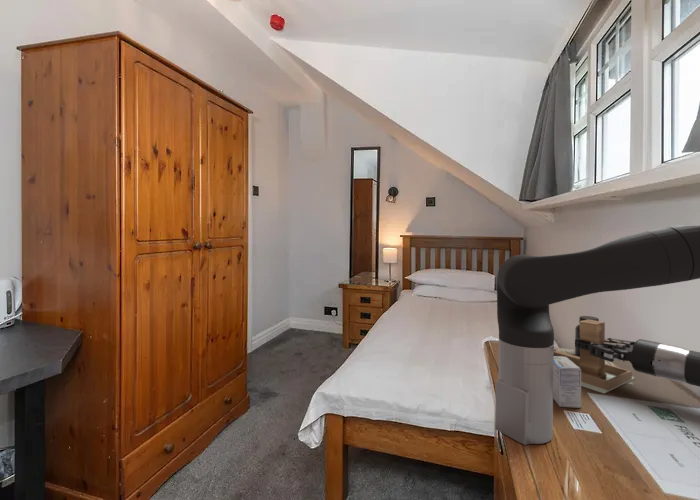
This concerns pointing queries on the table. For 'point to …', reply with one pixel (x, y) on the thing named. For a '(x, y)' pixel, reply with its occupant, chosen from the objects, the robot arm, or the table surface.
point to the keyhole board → (612, 381)
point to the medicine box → (566, 383)
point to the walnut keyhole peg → (590, 363)
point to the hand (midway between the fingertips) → (580, 341)
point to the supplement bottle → (577, 330)
